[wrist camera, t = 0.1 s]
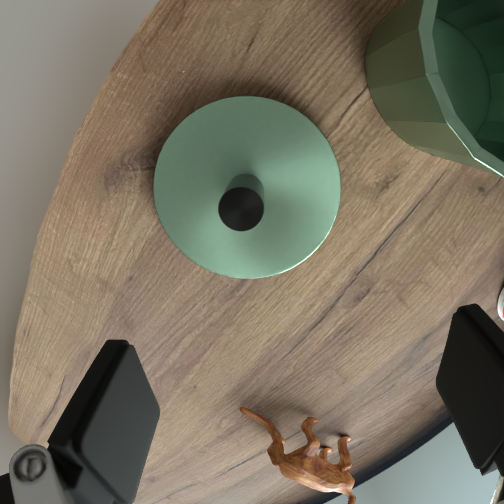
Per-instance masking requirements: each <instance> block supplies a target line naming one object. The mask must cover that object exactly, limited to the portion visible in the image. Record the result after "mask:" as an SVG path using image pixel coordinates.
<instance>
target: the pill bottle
mask: <svg viewBox="0 0 504 504" xmlns="http://www.w3.org/2000/svg"><path fill="white" fill-rule="evenodd" d="M497 308H498V313H499V315H500V317H501V318H502V319H503V320H504V287H503V289H502V291H501V293H500V296H499V300H498V307H497Z"/></svg>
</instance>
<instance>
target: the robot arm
mask: <svg viewBox="0 0 504 504" xmlns="http://www.w3.org/2000/svg"><path fill="white" fill-rule="evenodd" d="M436 387H437V390H438V392H439V394H440V396H441V398H442V400H443V402H444V404H445V406H446V407H447V409H448V411H449V414H450V416H451V418H452V420H453V422H454V424H455V426H456V428H457V430H458V432H459V434H460V436H461V438H462V440H463V443H464V445H465V447H466V449H467V452H468V454H469V456H470V458H471V461H472V463H473V465H474V467H475V468H476V469H480V472H481V474H482V476H483V475H486V474H488V473H490V472H492V471H494V470H496V469H497V468H498V470H499V472H500V476H499V480H498V483H497V486H496V489H495V492H494V495H493V498H492V501H491V503H490V504H504V332H503V331H502V330H501V329H500V328H499V327H498V326H497V325H496V323H495V322H494V321H493V320H492V319H491V318H490V317H489V316H488V315H487V314H486V313H485V312H484V310H483V309H482V308H481V307H480V306H479V305H477V304H470V305H465V306H461V307H459V308H458V309H457V312H456V313H454V314H453V317H452V321H451V325H450V330H449V334H448V338H447V342H446V346H445V349H444V353H443V357H442V360H441V364H440V367H439V370H438V374H437V377H436ZM159 416H160V408H159V405H158V402H157V400H156V398H155V396H154V394H153V391H152V389H151V387H150V384H149V382H148V380H147V377H146V375H145V372H144V370H143V368H142V365H141V363H140V360H139V358H138V355H137V353H136V350H135V348H134V346H133V345H129V343H128V341H127V340H107V341H106V342H105V344H104V345H103V347H102V348H101V350H100V352H99V353H98V355H97V356H96V358H95V360H94V361H93V363H92V365H91V366H90V368H89V369H88V371H87V373H86V374H85V376H84V378H83V379H82V381H81V383H80V384H79V386H78V388H77V390H76V391H75V393H74V395H73V396H72V398H71V400H70V402H69V403H68V405H67V407H66V409H65V410H64V412H63V414H62V416H61V417H60V419H59V421H58V423H57V425H56V426H55V428H54V430H53V432H52V434H51V436H50V437H49V439H48V441H47V442H48V443H49V446H48V448H47V449H46V448H45V447H43V446H41V445H37V444H31V445H26V446H24V447H22V448H20V449H19V450H18V451H17V452H16V453H15V454H14V455H13V457H12V458H11V461H10V464H9V473H7V474H4V475H2V476H0V504H132V503H133V502H134V500H135V497H136V493H137V490H138V486H139V483H140V479H141V476H142V472H143V469H144V466H145V462H146V459H147V456H148V452H149V449H150V446H151V442H152V439H153V436H154V433H155V429H156V426H157V423H158V420H159Z"/></svg>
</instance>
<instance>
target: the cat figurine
mask: <svg viewBox="0 0 504 504" xmlns="http://www.w3.org/2000/svg"><path fill="white" fill-rule="evenodd" d="M240 411H241V412H242V413H243V414H245V415H247V416H249V417H251V418H253V419H254V420H256V421H258V422H259V423H260V424H262V425H263V426H264V427H265V428H266V429H267V430H268V431H269V433H270V434H271V437H272V439H273V443H272V444H271V445H270V446H269V448H268V451H267V452H268V454H269V456H270V459H271V461H272V463H273V465H275V466H277V467H279V468H280V471H281V473H282V475H284V476H285V477H286V478H288V479H290V480H293V481H296V482H298V483H301V484H303V485H306V486H308V487H311V488H313V489H316V490H318V491H322V492H331V491H336V492H339V493H343V494H345V495H346V496H347V497H348V499H349V501H348V504H355V501H356V497H355V496H354V495H353V494H352V492H351V490H352V487H353V485H354V478H353V477H352V476H351V474H350V473H349V471H348V470H347V469H348V468H350V467H351V466H352V463H351V458H350V454H349V451H348V449H347V441H349V440H350V439H351V438H350V437H347V436H345V437H342V438H340V439H339V440H338V450H339V454H340V462H339V464H338V465H333V464H331V463H329V462H328V461H327V453H330V452H331V451H332V449H331V448H324V449H322V450H321V451H320V454H319V456H320V457H319V456H318V455H316V452H317V450H318V449H319V448H320V442H319V440H318V437H317V436H316V435H315V433H314V432H313V431H312V427H313V425H314V423H315V422H318V419H316V418H314V417H307V419H306V420H305V421H304V422H303V423H302V425H301V428H302V430H303V432H304V433H305V435H306V437H307V440H308V443H307V444H306V445H305V446H303V447H301V448H299V449H297V450H295V451H293V452H291V453H289V454H287V455H286V454H284V448H283V444H284V443H285V442H286V441H285V440H284V439H283V438H281V436H280V434H279V432H278V431H277V429H276V427H275V426H274V425H273V424H272V423H271V422H270V421H269V420H268V419H266V418H265V417H264V416H262V415H260V414H258V413H256V412H254V411H252V410H250V409H248V408H245V407H240Z"/></svg>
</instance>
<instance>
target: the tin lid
mask: <svg viewBox="0 0 504 504" xmlns="http://www.w3.org/2000/svg"><path fill="white" fill-rule="evenodd" d="M153 192H154V200H155V206H156V209H157V213H158V216H159V219H160V221H161V224H162V226H163V228H164V230H165V231H166V233H167V235H168V236H169V238H170V239H171V240H172V242H173V243H174V244H175V246H176V247H177V248H178V249H179V250H180V251H181V252H182V253H183V254H184V255H186V256H187V257H188V258H189V259H190V260H192V261H193V262H195V263H196V264H198V265H200V266H201V267H203V268H205V269H207V270H209V271H212V272H214V273H217V274H220V275H224V276H229V277H233V278H244V279H248V278H261V277H268V276H272V275H275V274H279V273H281V272H284V271H286V270H289V269H291V268H292V267H294V266H296V265H298V264H299V263H301V262H302V261H304V260H305V259H306V258H308V257H309V256H310V255H311V254H312V253H313V252H314V251H315V250H316V249H317V248H318V247H319V246H320V245H321V243H322V242H323V241H324V240H325V238H326V236H327V235H328V233H329V232H330V230H331V228H332V226H333V223H334V221H335V219H336V216H337V212H338V209H339V204H340V197H341V180H340V172H339V167H338V164H337V160H336V157H335V155H334V152H333V150H332V148H331V146H330V144H329V143H328V141H327V139H326V138H325V136H324V135H323V134H322V132H321V131H320V130H319V129H318V127H317V126H316V125H315V124H314V123H313V122H312V121H311V120H310V119H308V118H307V117H306V116H305V115H303V114H302V113H300V112H299V111H298V110H296V109H294V108H292V107H290V106H288V105H286V104H284V103H281V102H279V101H276V100H273V99H269V98H264V97H257V96H235V97H229V98H224V99H220V100H217V101H214V102H212V103H209V104H207V105H205V106H203V107H201V108H199V109H197V110H196V111H194V112H193V113H191V114H190V115H189V116H187V117H186V118H185V119H184V120H183V121H182V122H181V123H180V124H179V125H177V127H176V128H175V129H174V130H173V132H172V133H171V134H170V135H169V137H168V139H167V140H166V142H165V144H164V145H163V147H162V150H161V152H160V154H159V157H158V160H157V164H156V167H155V173H154V188H153Z"/></svg>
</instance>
